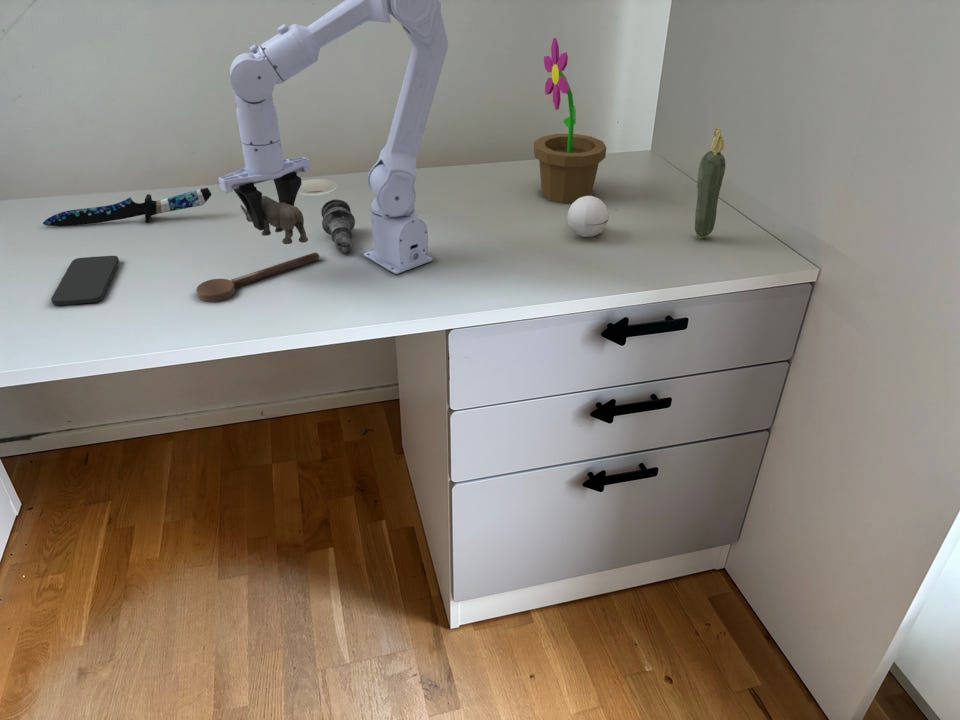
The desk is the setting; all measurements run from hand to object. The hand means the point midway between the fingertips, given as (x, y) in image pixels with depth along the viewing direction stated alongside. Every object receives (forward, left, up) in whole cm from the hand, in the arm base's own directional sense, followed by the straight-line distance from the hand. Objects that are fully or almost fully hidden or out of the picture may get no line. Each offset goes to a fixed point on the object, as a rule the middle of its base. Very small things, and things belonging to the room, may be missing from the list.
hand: (273, 224), depth 123 cm
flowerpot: (-7, -62, -9) cm, 63 cm away
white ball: (-24, -51, -9) cm, 57 cm away
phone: (+17, +25, -8) cm, 32 cm away
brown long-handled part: (0, +4, -8) cm, 10 cm away
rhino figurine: (0, 0, -2) cm, 2 cm away
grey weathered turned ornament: (+8, -16, -5) cm, 19 cm away
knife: (+37, +11, -9) cm, 39 cm away
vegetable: (-38, -64, -9) cm, 75 cm away
